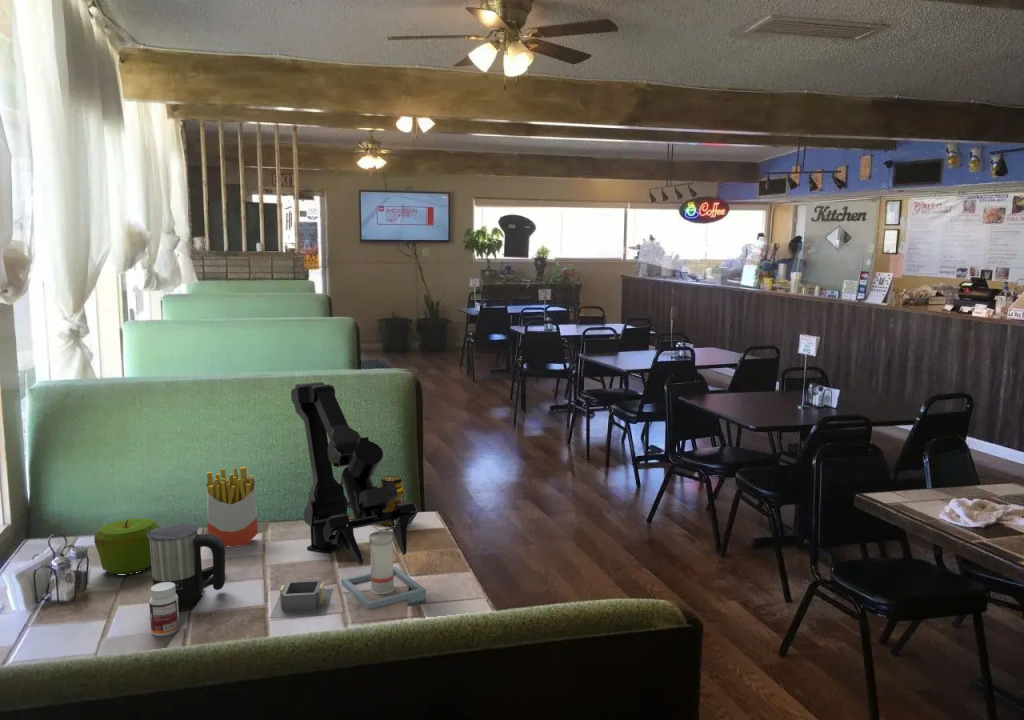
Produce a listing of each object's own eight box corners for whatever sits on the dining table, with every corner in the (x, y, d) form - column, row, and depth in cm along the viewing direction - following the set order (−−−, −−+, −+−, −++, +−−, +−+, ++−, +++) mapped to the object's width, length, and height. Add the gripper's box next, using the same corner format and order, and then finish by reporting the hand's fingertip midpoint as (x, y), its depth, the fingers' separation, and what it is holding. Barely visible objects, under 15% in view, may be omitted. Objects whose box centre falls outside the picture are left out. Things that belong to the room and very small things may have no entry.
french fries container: (258, 544, 183) (254, 470, 181) (209, 549, 180) (205, 474, 178) (257, 537, 188) (254, 465, 185) (209, 543, 184) (205, 469, 182)
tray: (341, 591, 156) (341, 579, 156) (395, 577, 163) (395, 566, 162) (368, 616, 144) (368, 604, 144) (425, 601, 151) (425, 589, 151)
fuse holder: (282, 598, 153) (281, 575, 152) (333, 595, 154) (332, 573, 153) (269, 625, 141) (268, 601, 140) (325, 622, 142) (324, 598, 141)
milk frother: (152, 617, 145) (147, 541, 143) (149, 587, 159) (145, 517, 157) (232, 603, 151) (228, 529, 149) (223, 574, 165) (219, 507, 163)
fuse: (367, 592, 154) (365, 534, 153) (388, 586, 157) (387, 529, 155) (376, 600, 150) (374, 540, 149) (398, 594, 153) (396, 536, 151)
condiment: (410, 524, 197) (409, 478, 195) (379, 531, 192) (378, 484, 191) (398, 517, 203) (396, 472, 202) (367, 523, 198) (366, 477, 197)
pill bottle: (156, 625, 142) (154, 581, 141) (183, 624, 142) (181, 580, 141) (146, 637, 137) (144, 592, 136) (174, 636, 137) (171, 591, 136)
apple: (156, 555, 177) (153, 507, 175) (165, 572, 166) (162, 521, 165) (94, 567, 170) (90, 517, 168) (100, 585, 160) (96, 533, 158)
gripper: (325, 477, 149) (348, 549, 141) (413, 463, 159) (438, 530, 151) (313, 506, 157) (334, 576, 149) (397, 491, 167) (421, 556, 159)
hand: (383, 558), depth 152 cm, fingers open, 9 cm apart
